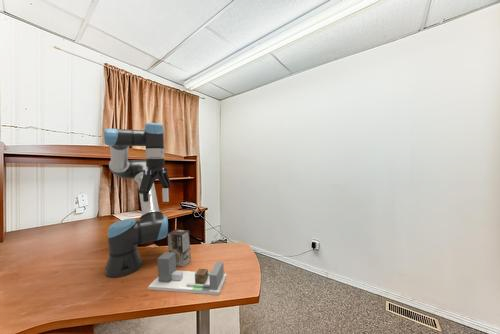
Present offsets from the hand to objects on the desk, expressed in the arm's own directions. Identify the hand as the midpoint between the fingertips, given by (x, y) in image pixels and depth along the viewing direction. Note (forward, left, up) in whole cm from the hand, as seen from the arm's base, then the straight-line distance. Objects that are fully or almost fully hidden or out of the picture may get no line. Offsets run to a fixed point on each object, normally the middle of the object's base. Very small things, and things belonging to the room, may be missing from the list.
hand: (157, 205), depth 89 cm
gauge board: (+16, -4, -33) cm, 37 cm away
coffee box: (+4, +11, -33) cm, 35 cm away
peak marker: (+22, -4, -31) cm, 38 cm away
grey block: (+8, -4, -31) cm, 32 cm away
